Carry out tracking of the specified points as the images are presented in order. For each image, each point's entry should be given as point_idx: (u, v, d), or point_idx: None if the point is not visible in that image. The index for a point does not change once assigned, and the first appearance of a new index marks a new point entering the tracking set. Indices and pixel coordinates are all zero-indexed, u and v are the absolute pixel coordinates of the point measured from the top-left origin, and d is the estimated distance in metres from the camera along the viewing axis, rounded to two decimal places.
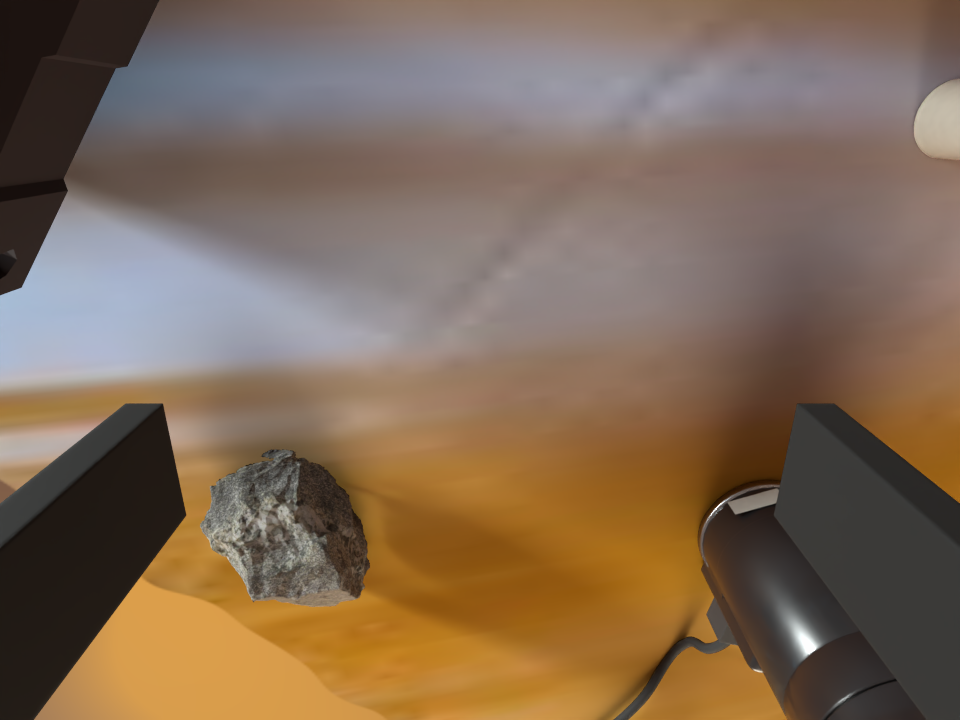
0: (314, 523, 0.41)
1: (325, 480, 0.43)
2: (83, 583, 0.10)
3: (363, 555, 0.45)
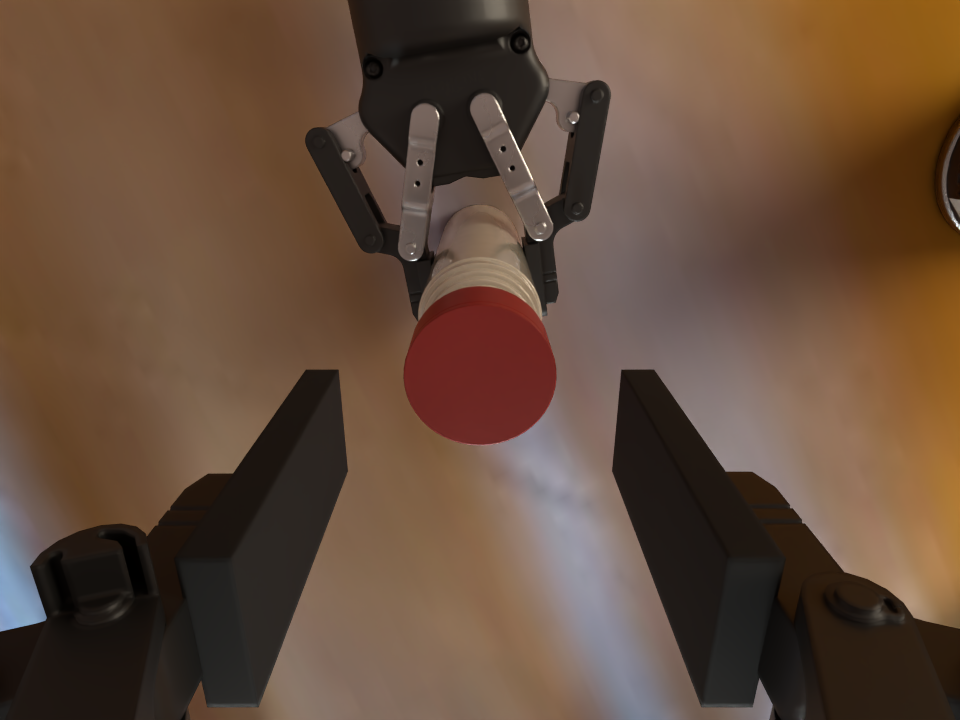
0: None
1: None
2: (307, 516, 0.12)
3: None
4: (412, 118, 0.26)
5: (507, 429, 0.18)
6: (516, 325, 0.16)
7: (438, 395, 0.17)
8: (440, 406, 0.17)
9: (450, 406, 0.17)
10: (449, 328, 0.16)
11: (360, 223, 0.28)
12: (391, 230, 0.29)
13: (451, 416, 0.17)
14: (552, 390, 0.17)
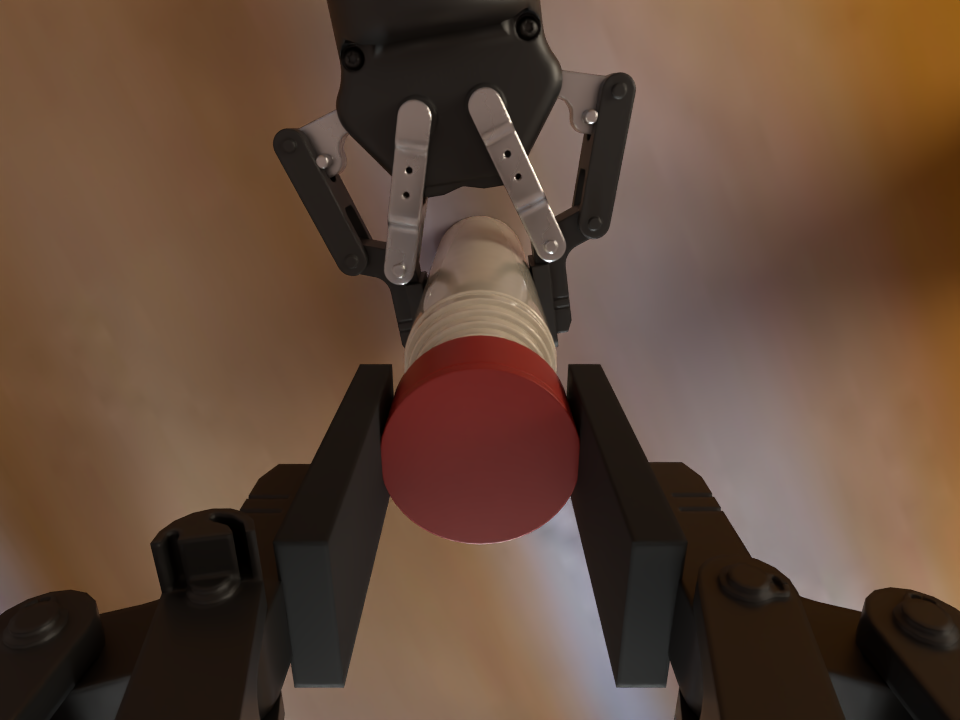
0: None
1: None
2: (373, 505, 0.12)
3: None
4: (399, 117, 0.22)
5: (516, 524, 0.13)
6: (529, 394, 0.12)
7: (425, 482, 0.13)
8: (428, 496, 0.13)
9: (441, 496, 0.13)
10: (439, 398, 0.12)
11: (339, 241, 0.24)
12: (376, 248, 0.24)
13: (442, 508, 0.13)
14: (576, 476, 0.13)
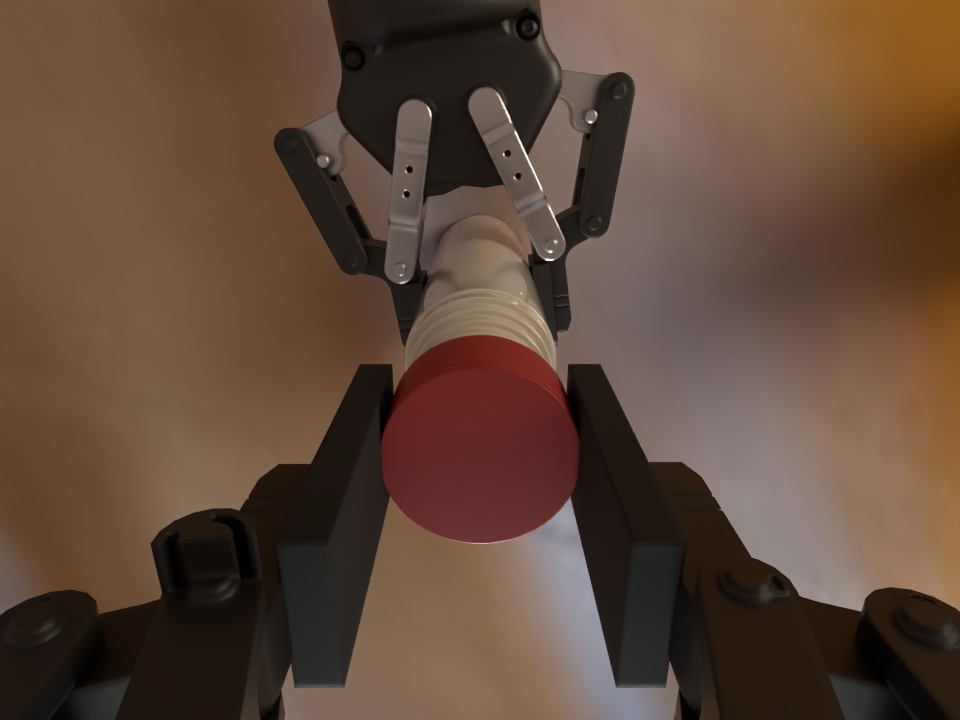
0: None
1: None
2: (373, 505, 0.12)
3: None
4: (399, 117, 0.22)
5: (549, 415, 0.12)
6: (397, 432, 0.13)
7: (514, 503, 0.13)
8: (529, 499, 0.13)
9: (527, 488, 0.13)
10: (421, 505, 0.13)
11: (340, 241, 0.24)
12: (376, 247, 0.25)
13: (541, 484, 0.13)
14: (478, 371, 0.12)
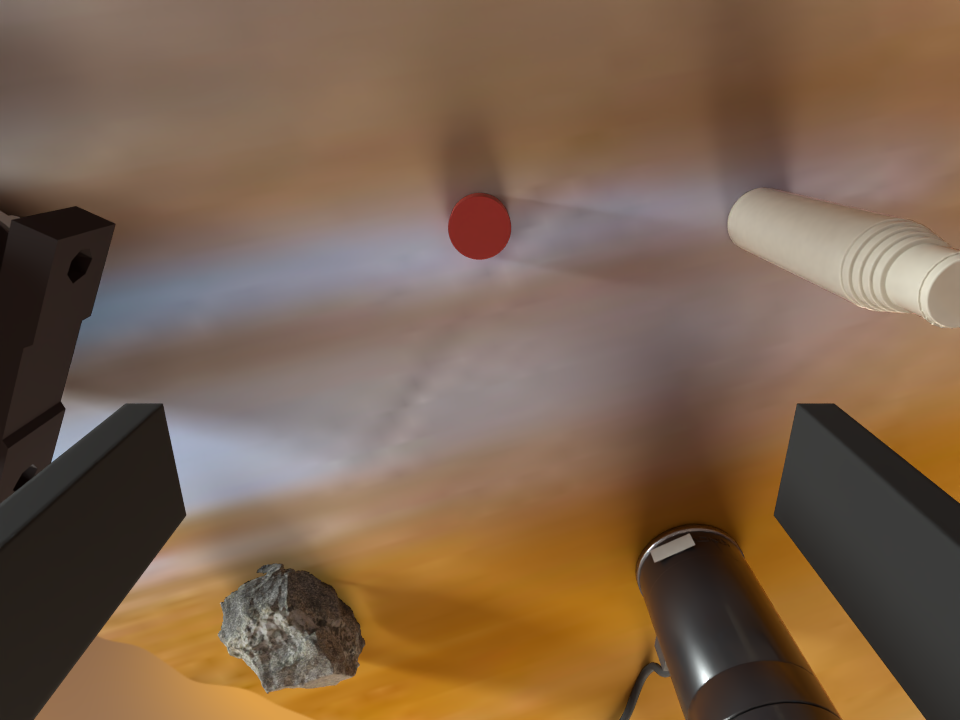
0: (305, 623, 0.50)
1: (311, 583, 0.53)
2: (83, 583, 0.10)
3: (354, 638, 0.54)
4: None
5: (466, 250, 0.42)
6: (506, 228, 0.41)
7: (463, 217, 0.41)
8: (459, 221, 0.41)
9: (462, 224, 0.41)
10: (491, 206, 0.41)
11: None
12: None
13: (458, 227, 0.41)
14: (491, 256, 0.42)
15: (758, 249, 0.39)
